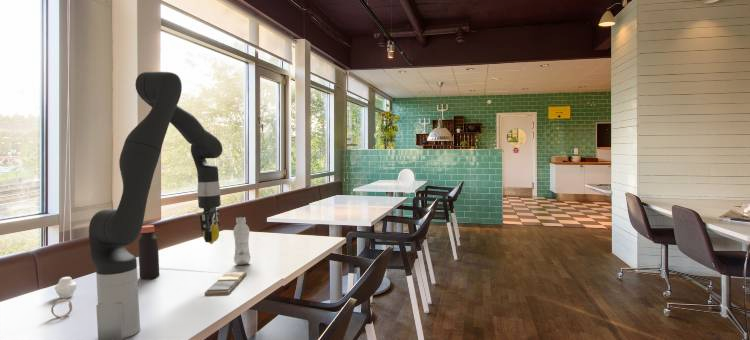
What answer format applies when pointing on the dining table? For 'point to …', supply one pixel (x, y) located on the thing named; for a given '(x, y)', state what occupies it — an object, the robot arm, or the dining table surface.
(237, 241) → the plastic bottle
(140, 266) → the vinegar
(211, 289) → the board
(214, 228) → the lemon
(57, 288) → the muffin
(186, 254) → the dining table surface
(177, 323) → the dining table surface
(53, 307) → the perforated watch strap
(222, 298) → the dining table surface
